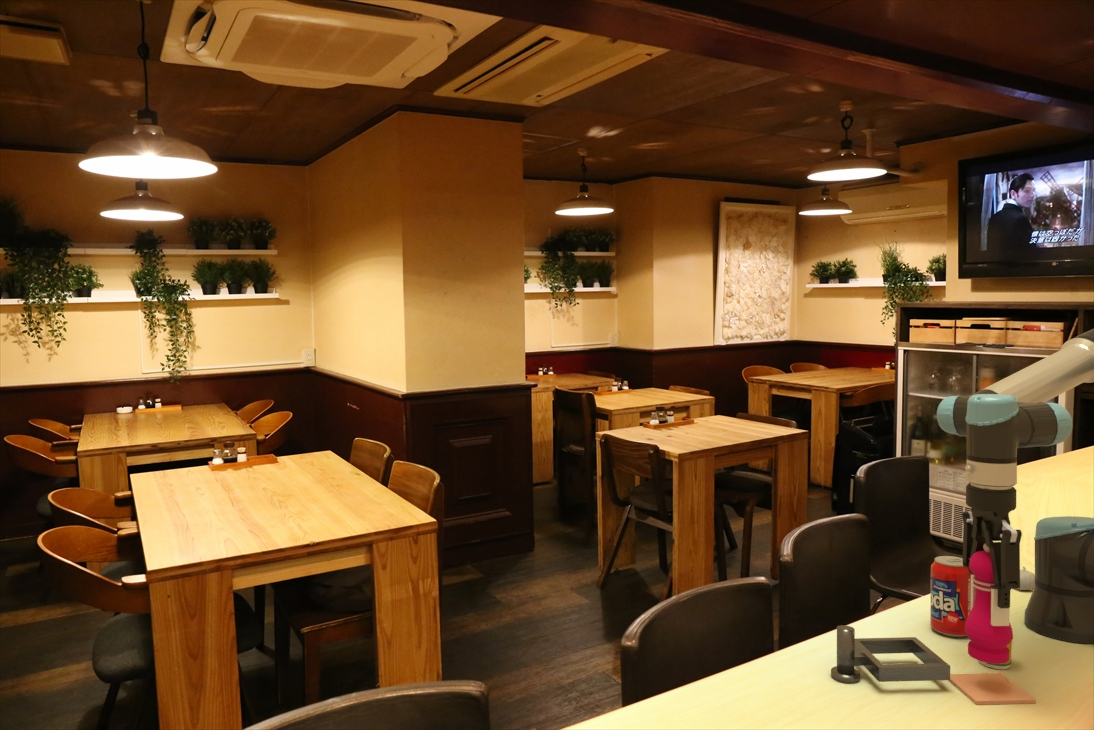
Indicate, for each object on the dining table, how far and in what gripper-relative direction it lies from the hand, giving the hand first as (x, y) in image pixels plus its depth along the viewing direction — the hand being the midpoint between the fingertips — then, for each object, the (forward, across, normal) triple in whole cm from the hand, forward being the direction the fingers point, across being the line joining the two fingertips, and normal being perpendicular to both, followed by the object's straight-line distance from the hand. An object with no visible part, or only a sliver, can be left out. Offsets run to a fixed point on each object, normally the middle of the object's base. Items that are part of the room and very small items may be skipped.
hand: (989, 617), depth 134 cm
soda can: (+13, -25, +7) cm, 29 cm away
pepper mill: (+7, 0, 0) cm, 7 cm away
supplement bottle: (+13, -10, +7) cm, 18 cm away
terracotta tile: (+13, 0, 0) cm, 13 cm away
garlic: (+13, -49, +37) cm, 63 cm away
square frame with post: (+13, -6, -16) cm, 21 cm away
